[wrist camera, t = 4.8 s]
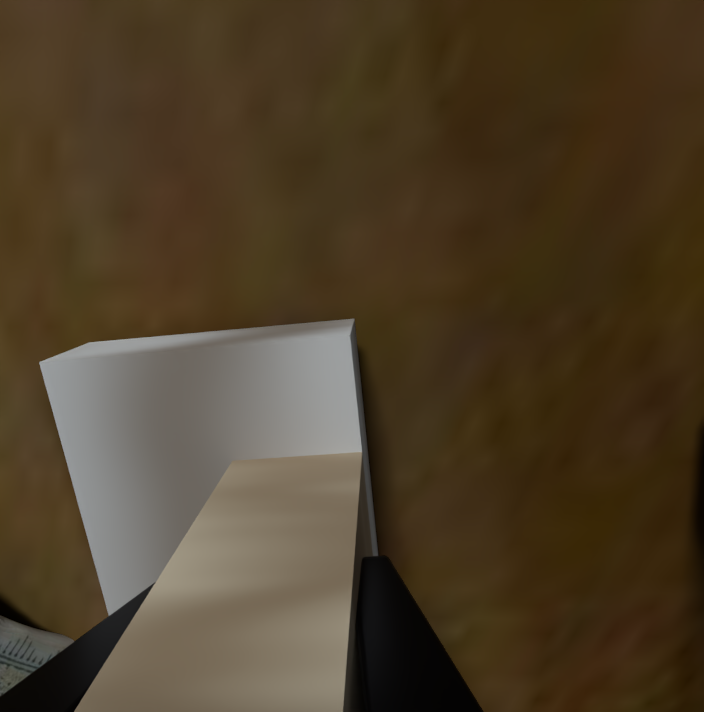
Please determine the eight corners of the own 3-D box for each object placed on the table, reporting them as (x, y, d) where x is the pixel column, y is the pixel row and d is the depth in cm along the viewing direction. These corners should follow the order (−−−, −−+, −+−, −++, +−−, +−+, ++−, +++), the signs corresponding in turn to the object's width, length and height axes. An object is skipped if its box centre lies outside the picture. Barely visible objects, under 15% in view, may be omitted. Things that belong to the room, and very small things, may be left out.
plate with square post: (354, 318, 10) (233, 770, 2) (382, 599, 12) (392, 1504, 3) (89, 342, 10) (-1046, 788, 2) (155, 609, 12) (-326, 1427, 4)
